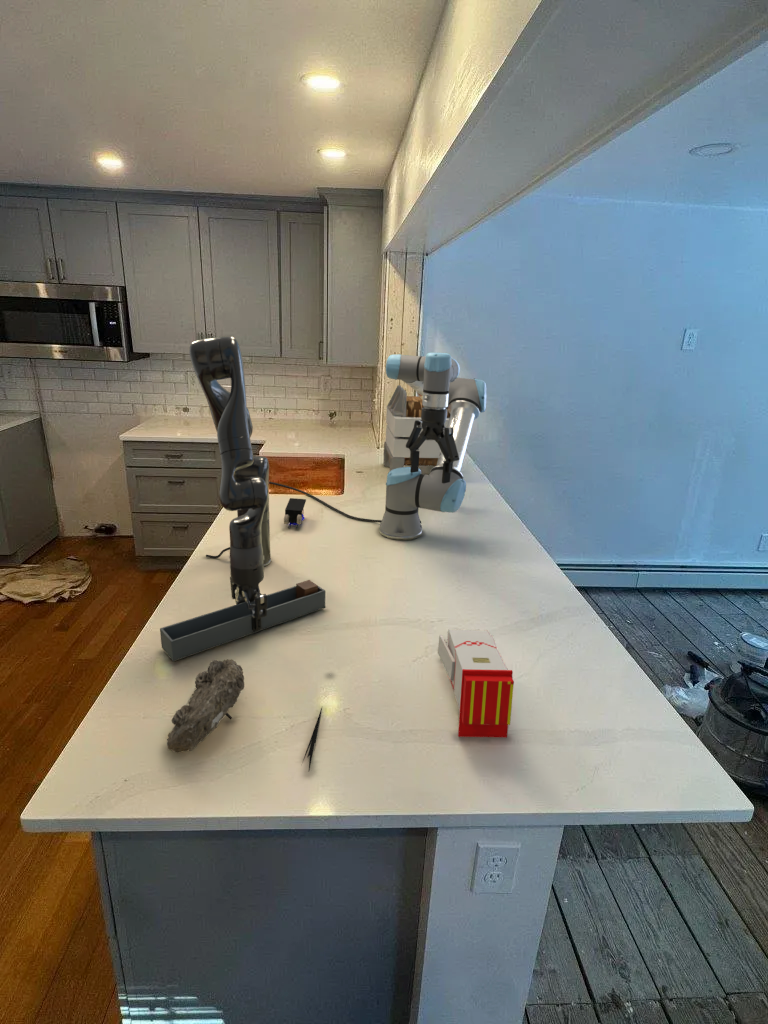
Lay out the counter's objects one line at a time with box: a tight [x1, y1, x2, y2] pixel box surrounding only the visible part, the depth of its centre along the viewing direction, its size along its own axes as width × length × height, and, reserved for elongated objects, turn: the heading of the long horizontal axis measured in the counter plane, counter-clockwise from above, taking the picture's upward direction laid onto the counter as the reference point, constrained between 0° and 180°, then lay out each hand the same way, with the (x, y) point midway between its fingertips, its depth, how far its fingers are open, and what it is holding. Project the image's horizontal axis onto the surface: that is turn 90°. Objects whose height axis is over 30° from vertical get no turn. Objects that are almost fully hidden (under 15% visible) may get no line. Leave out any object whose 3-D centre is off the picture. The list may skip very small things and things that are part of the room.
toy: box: [437, 628, 515, 738], centre depth 117 cm, size 12×13×30 cm
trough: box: [159, 585, 326, 662], centre depth 136 cm, size 7×40×5 cm, turn 131°
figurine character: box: [283, 497, 307, 529], centre depth 204 cm, size 7×8×15 cm
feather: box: [301, 673, 332, 771], centre depth 108 cm, size 2×28×2 cm
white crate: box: [383, 384, 462, 473], centre depth 268 cm, size 34×33×41 cm
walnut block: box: [295, 579, 319, 599], centre depth 146 cm, size 4×4×6 cm
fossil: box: [166, 658, 245, 754], centre depth 106 cm, size 22×10×15 cm
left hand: (249, 623), depth 137 cm, fingers closed on trough, 6 cm apart
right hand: (429, 477), depth 173 cm, fingers open, 13 cm apart
